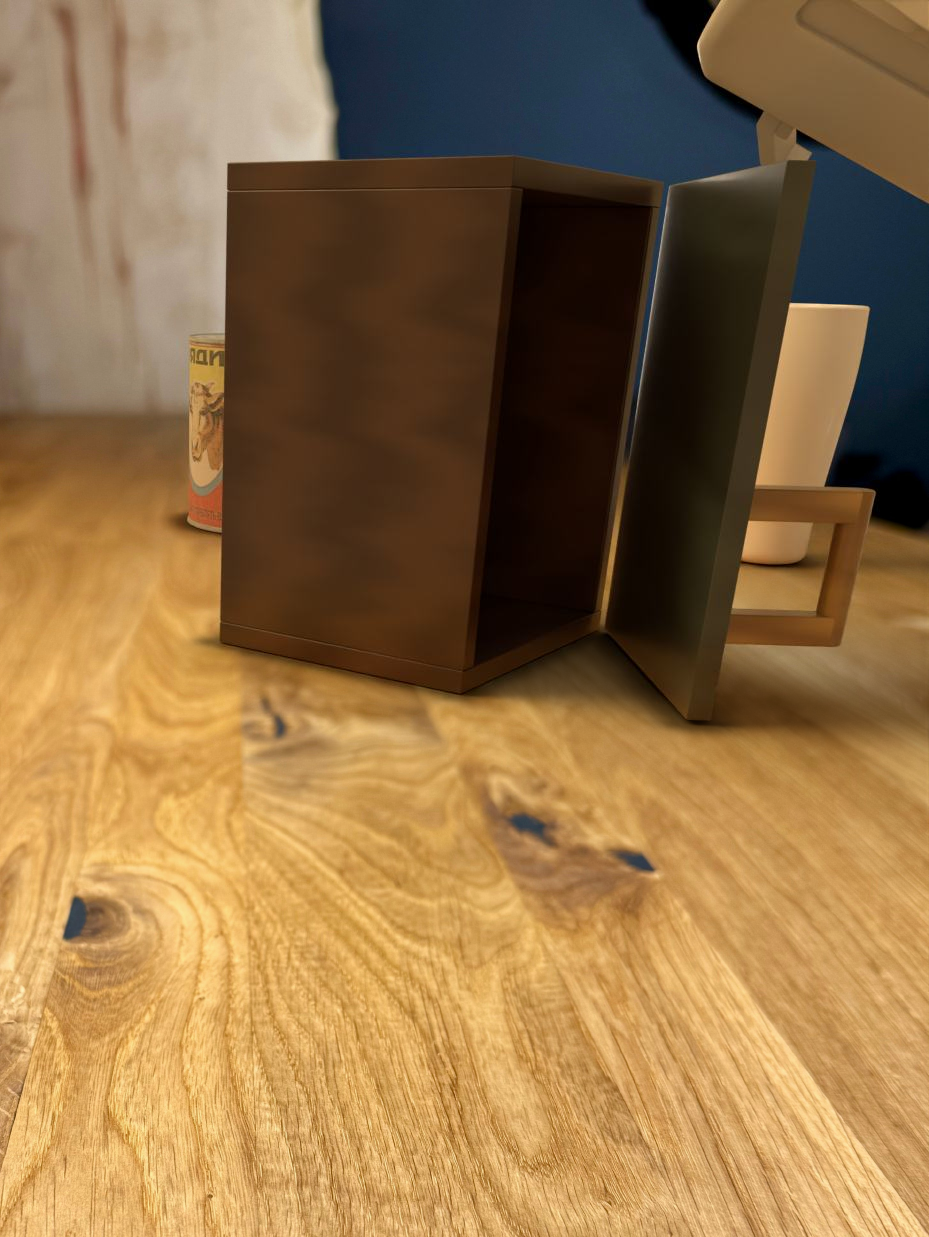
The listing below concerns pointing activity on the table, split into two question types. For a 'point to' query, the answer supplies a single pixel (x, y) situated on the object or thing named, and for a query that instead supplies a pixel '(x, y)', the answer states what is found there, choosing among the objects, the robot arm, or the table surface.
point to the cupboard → (426, 407)
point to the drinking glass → (806, 416)
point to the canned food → (206, 430)
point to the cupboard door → (719, 441)
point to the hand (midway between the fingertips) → (865, 244)
